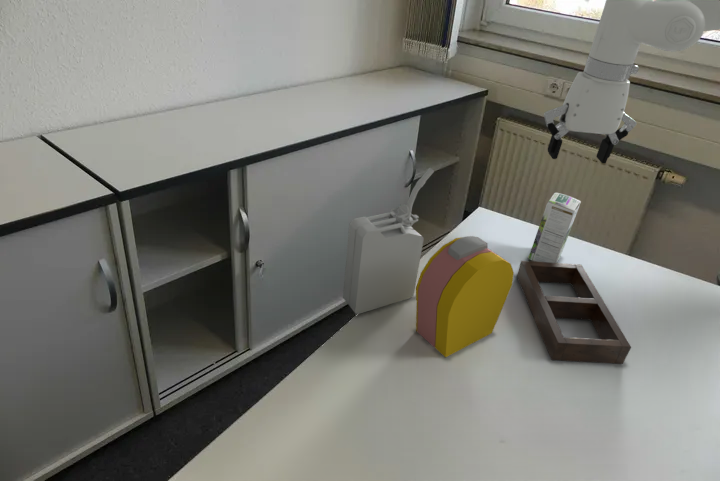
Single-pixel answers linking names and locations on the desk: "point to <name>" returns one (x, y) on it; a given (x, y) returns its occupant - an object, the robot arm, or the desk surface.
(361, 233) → the fuel canister
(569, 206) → the syrup box
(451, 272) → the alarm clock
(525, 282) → the open brown box
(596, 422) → the desk surface
